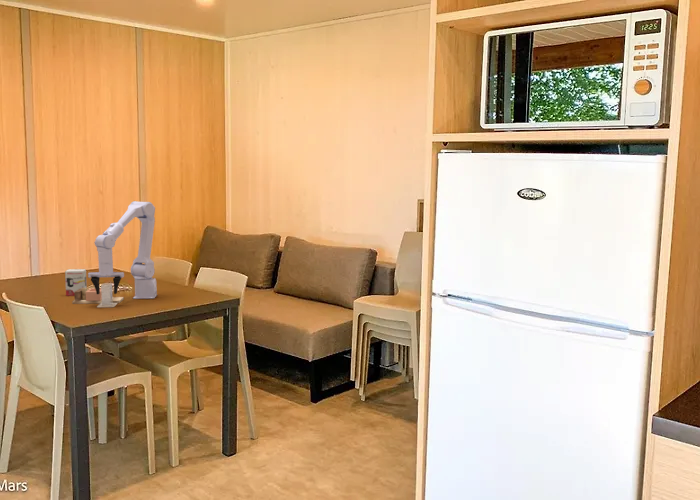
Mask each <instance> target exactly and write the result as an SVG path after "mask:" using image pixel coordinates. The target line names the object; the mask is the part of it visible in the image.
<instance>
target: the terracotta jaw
mask: <svg viewBox="0 0 700 500" xmlns="http://www.w3.org/2000/svg"><path fill="white" fill-rule="evenodd" d="M99 289H100V293H99V294H97V293H96V289H95V287H94V288H93V287H92V288H89V289H87V291H86V301H100V300H101V299H102V293H101V287H99Z"/></svg>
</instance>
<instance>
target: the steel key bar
mask: <svg viewBox="0 0 700 500" xmlns="http://www.w3.org/2000/svg"><path fill="white" fill-rule="evenodd" d="M100 286H101V287H100V288H101V293H102V306H107V305H112V304H113V298H112V297H113V283H111V282H110V283H109V282H108V283H106V282H105V283H102V284H101V285H100Z"/></svg>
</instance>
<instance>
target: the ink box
mask: <svg viewBox="0 0 700 500" xmlns="http://www.w3.org/2000/svg"><path fill="white" fill-rule="evenodd" d="M64 274H65V276H64V277H65V296H66V297H75V295H74V292H75V291H77V290H78V289H82V288H87V289H88V287H87V285H88V283H87V269H85V268H83V269H82V268H80V269H79V268H75V269H74V268H72V269H70V268H69V269H66V270H65V271H64Z"/></svg>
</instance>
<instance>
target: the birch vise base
mask: <svg viewBox="0 0 700 500" xmlns="http://www.w3.org/2000/svg"><path fill="white" fill-rule="evenodd" d="M86 291H88V287H87V288H82V289H78V290H77V291H75V292H74V295H75V296H74V300H72V301H71V302H72V304H75V305H76V304H77V305H78V304H101V303H102V299H101V300H100V301H86ZM112 298H113V303H118V304H120V303H121V302H123V301H124V298H125V297H124V296H115V297H114V296H112Z"/></svg>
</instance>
